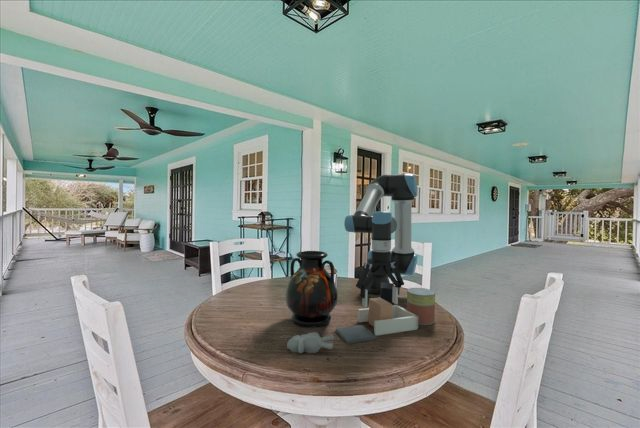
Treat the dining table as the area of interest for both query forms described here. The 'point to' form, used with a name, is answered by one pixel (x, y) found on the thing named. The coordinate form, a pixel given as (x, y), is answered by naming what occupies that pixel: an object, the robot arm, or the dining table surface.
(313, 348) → the bunny figurine
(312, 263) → the amphora vase
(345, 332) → the slate mat
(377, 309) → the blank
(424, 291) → the canned food
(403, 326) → the slot rack
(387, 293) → the small box
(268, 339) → the dining table surface
